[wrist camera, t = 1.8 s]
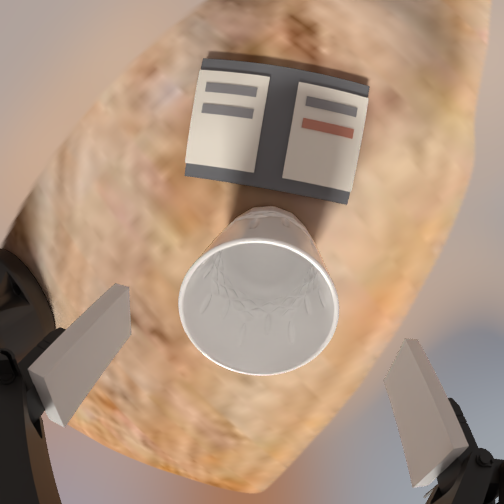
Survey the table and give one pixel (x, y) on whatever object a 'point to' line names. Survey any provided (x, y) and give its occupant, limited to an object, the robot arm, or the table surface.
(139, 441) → the table surface
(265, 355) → the white cup
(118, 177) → the table surface
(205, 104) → the label board
